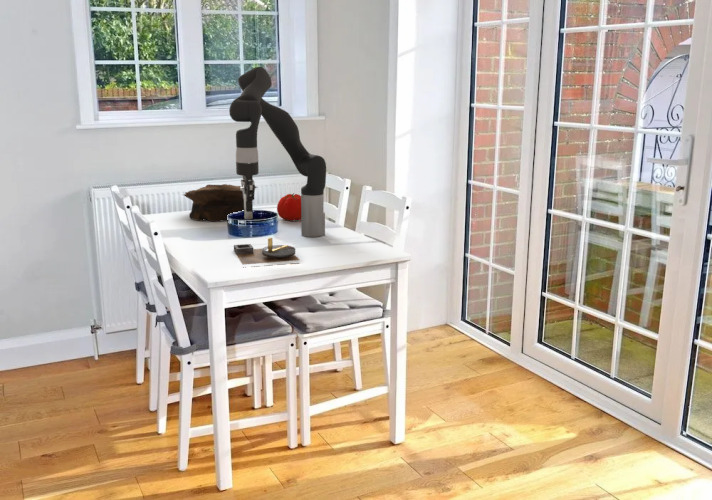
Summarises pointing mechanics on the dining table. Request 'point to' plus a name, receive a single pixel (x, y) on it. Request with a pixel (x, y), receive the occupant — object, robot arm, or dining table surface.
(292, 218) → the tomato
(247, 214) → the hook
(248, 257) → the board
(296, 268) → the dining table surface
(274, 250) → the handwheel
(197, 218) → the brown irregular lump
